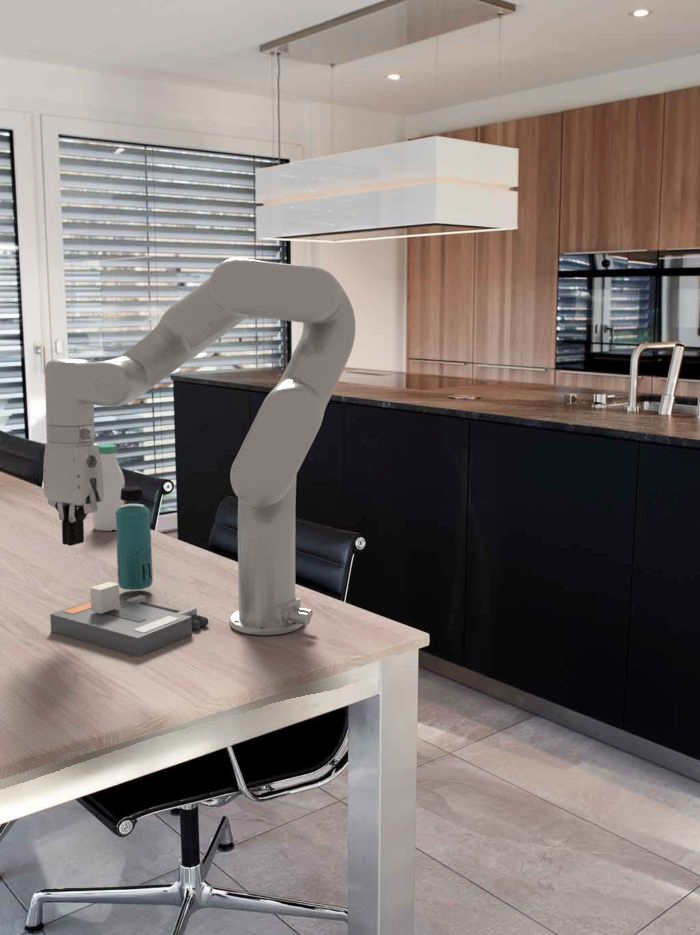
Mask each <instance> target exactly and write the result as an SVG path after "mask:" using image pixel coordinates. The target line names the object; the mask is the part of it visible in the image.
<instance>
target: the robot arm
mask: <svg viewBox="0 0 700 935" xmlns="http://www.w3.org/2000/svg"><path fill="white" fill-rule="evenodd" d="M249 317H252V318H253V317H254V318H260V319H267V320H268V319H269V320H270V319H271V320H278V321H279V320H280V321H288V322H295V323H302V325H303V328H302V333H301V336H300V339H299V341H298V343H297V344H296V347H295V349H294V350H293V353H292V355H291V358H290V360H289V362H288V364H287V366H286V367H285V370H284V372H283V374H282V375H281V378H280V380H279V381H278V383H277V384H276V386H275V387H274V388H273V389H272V390H271V391H270V392H269V393H268V395H266V397H265V399H264V400H263V402H262V404H261V406H260V407H259V409H258V411H257V414H256V415H255V418H254V420H253V422H252V424H251V425H250V426H251V427H250V428H249V430H248V432H247V435H246V436H245V438H244V440H243V442H242V444H241V446H240V448H239V451H238V453H237V455H236V457H235V458H234V461H233V463H232V465H231V468H230V475H229V476H230V484H231V488H232V490H233V492H234V494H235V495H236V497H237V499H238V502H237V506H238V507H237V558H238V559H237V564H238V566H237V567H238V568H237V570H238V571H237V572H238V576H237V577H238V610H236V611H235V612H233V613H232V614H231V615H230V617H229V625H230V626H231V628H232V629H234V630H235V631H236V632H240V633H242V634H247V635H254V636H255V635H256V636H277V635H283V634H287V633H291V632H294V631H296V630H298V629H300V628H301V627H303V626H308V625H309V624H310V622H311V619H312V617H313V610H312V609H310V608H303V607H302V605H301V601H302V600H301V597H296V505H297V504H296V498H297V497H296V496H297V475H298V472H299V470H300V468H301V466H302V465H303V463H304V461H305V458H306V456H307V454H308V452H309V450H310V449H311V447H312V444H313V442H314V441H315V438H316V436H317V434H318V433H319V430H320V428H321V425H322V422H323V418H324V414H325V411H326V407H327V405H328V403H329V402H330V400H331V397H332V395H333V393H334V392H335V389H336V387H337V385H338V383H339V381H340V378H341V376H342V374H343V371H345V367H346V365H347V363H348V361H349V358H350V356H351V353H352V350H353V346H354V344H355V337H356V317H355V312H354V308H353V305H352V303H351V301H350V299H349V296H348V294H347V293H346V291H345V290H344V288H343V287H342V284H340V282H339V281H338V280H337V278H336V277H335V276H334V275H333V274H332V273H330V272H329V271H328V270H325V269H324V268H321V267H316V266H309V265H300V264H290V263H283V262H282V263H281V262H271V261H265V260H257V259H250V258H246V257H245V258H244V257H230V258H228V259H225V260H223V261H222V262H220V263H219V264H218V265H217V266H216V267H215V268H214V269H213V271H212V273H211V275H210V277H208V278H207V279H206V280H204V282H203V283H201V284H200V285H199V286H197V287H196V288H195V289H193V290H192V291H190V292H189V293H188V294H186V296H183V297H182V298H181V299H179V301H177V302H175V303H174V304H172V306H170V307H169V308H168V309H167V310H166V311H165V312H164V313H163V314H162V317H161V318H160V320H159V321H158V323H157V325H156V326H155V327H154V328H153V329H152V330H151V331H150V332H149V333H148V334H146V335H145V337H143V338H142V339H141V340H139V342H137V343H135V344H134V345H132V347H130V348H129V349H128V350H127V351H125V352H124V353H122V354H121V355H119V356H117V357H114V358H110V359H108V360H102V361H92V362H91V361H89V360H87V359H81V358H55V359H51V360H49V361H47V363H46V364H45V366H44V367H45V368H44V377H45V378H44V384H45V389H44V390H45V416H46V417H45V418H46V419H45V421H46V422H45V423H46V426H45V428H46V442H45V447H44V456H43V470H42V471H43V472H42V473H43V474H42V477H43V478H42V481H43V483H42V484H43V485H42V486H43V493H44V496H45V498H47V503H48V505H49V506H51V507H53V508H55V509H56V511H57V512H58V518H59V520H60V521H61V533H62V534H61V536H62V537H61V538H62V540H61V541H62V542H61V543H62V544H63V545H64V546H65V545H67V546H75V545H79V544H83V543H84V541H85V534H84V533H85V529H84V522H85V521H86V519H87V516H88V514H93V512H97V510H98V508H97V503H96V502H101V501H102V500H103V498H104V484H103V472H102V463H101V457H100V452H99V448H98V446H99V445H98V443H96V442H95V440H96V439H95V438H96V436H97V435H96V432H95V406H100V407H105V408H117V407H121V406H124V405H127V404H128V403H130V402H132V401H135V400H137V399H139V398H141V397H142V396H143V395H144V394H146V393H147V392H149V391H150V390H151V389H152V388H154V387H156V386H157V385H158V384H159V383H160V382H162V381H164V380H165V379H166V378H167V377H168V376H170V375H171V374H172V373H174V372H175V371H176V370H178V368H180V367H181V366H183V365H184V364H186V363H187V362H189V361H191V360H192V359H194V358H196V357H197V356H198V355H199V354H200V353H202V352H203V351H205V350H206V349H207V348H208V347H210V346H211V345H213V344H214V343H215V342H216V341H218V340H219V339H220V338H221V337H223V336H224V335H226V334H227V333H228V332H229V331H231V330H232V329H233V328H235V327H236V326H237V325H239V324H240V323H242V322H243V321H245V320H246V319H247V318H249Z"/></svg>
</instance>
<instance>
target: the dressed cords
mask: <svg viewBox="0 0 700 935" xmlns="http://www.w3.org/2000/svg"><path fill="white" fill-rule="evenodd" d="M146 598H147V597H146V595H142V594H140V595H137V596H134V597H131V598H128V597H127V598H124V599H123V600H126V601H130V602H134V603H138V604H142V605H146V606H150V607H154V608H158V609H162V610H166V611H170V612H174V613H179V614H183V615H187V616H191V617H192V631H197V630H199V629H200V628H201V627H204V628H205V627H206V626H208V624H209V619H208V618H207V617H205V616H202V615H198V608H196V607H194V606H191V607H188V608H185V609H183V610H179V609H177V610H176V609H173V608H169V607H166V606H161V605H157V604H153V603H148V602H147V599H146Z"/></svg>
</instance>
